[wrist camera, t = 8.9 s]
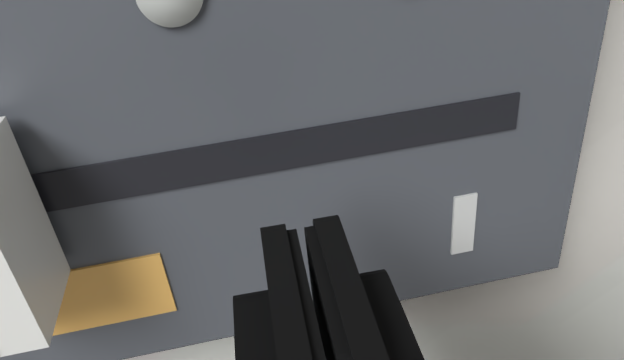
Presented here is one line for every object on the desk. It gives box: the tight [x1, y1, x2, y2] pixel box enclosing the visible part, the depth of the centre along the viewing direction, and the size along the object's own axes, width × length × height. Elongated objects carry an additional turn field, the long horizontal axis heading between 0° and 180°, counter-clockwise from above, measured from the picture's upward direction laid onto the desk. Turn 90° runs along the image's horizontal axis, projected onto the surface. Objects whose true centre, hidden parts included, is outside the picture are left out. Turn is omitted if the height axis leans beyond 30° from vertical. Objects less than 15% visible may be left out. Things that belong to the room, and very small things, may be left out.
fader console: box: [0, 0, 610, 360], centre depth 17 cm, size 24×14×3 cm, turn 96°
